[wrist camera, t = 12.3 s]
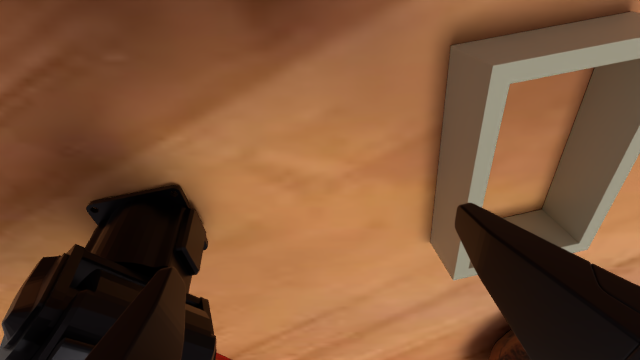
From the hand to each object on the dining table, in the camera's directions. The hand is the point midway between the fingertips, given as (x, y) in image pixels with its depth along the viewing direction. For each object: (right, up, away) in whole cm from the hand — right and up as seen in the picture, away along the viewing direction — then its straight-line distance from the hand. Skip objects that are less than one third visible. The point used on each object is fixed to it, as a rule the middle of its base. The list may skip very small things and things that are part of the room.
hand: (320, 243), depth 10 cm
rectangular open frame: (+16, +4, +16) cm, 23 cm away
